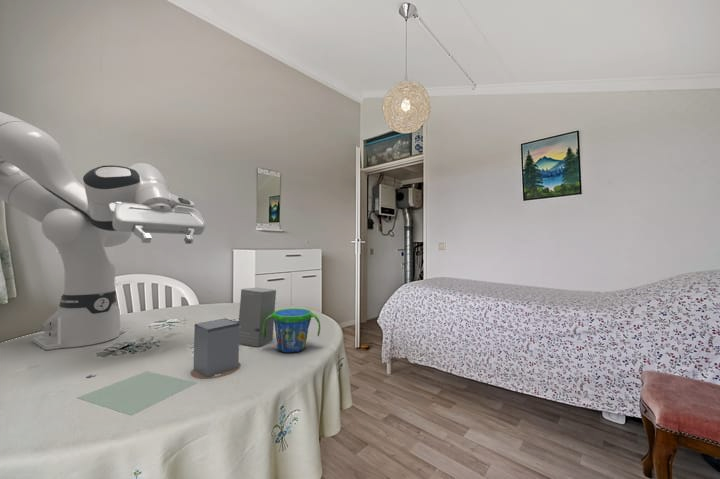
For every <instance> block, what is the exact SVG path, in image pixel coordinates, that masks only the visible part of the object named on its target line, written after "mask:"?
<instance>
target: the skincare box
mask: <svg viewBox="0 0 720 479" xmlns="http://www.w3.org/2000/svg"><path fill="white" fill-rule="evenodd" d="M240 291H241V292H240V302H239V312H238V314H239V315H238V323H239V345H244V346H245V345H246V346H250V347H251V346H252V347H257V348H260V347H262V346H264V345H267V344H269V343H271V342H270V341H272V340H273V339H274V328H275V323H274V319H273V318H269V319H268V320H267V322H266V338H264V337H263V324H264V322H265V320H266V318H267V317H268V316H270V315H271V314H273V313H274V312H275V309H276V298H277V297H276V295H277V290H276V289H270V288H263V287H248V288H242V289H241V290H240ZM268 342H269V343H268ZM272 342H273V341H272ZM266 343H267V344H266Z"/></svg>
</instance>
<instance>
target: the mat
mask: <svg viewBox="0 0 720 479" xmlns="http://www.w3.org/2000/svg"><path fill="white" fill-rule="evenodd" d="M196 384H197V382H196V381H191V380H187V379H182V378H179V377H173V376H170V375H165V374H161V373H156V372H153V371H144V372H141V373H139V374H136V375H133V376H130V377H128V378H125V379H122V380H120V381H116V382H115V383H112V384H109V385H107V386H104V387H101V388H99V389H96V390H94V391H91V392H88V393H86V394H83V395H80V396H77V397H76V399H79V400H82V401H86V402H87V403H91V404H93V405H97V406H100V407H103V408H107V409H110V410H114V411H115V412H116V411H117V412H119V413H122V414H126V415H129V416H134V415H136V414H137V413H140V412H141V411H143V410H145V409H147V408H149V407H151V406H154V405H155V404H158V403H160V402H162V401H164V400H166V399H167V398H169V397H173V396H174V395H177V394H178V393H180V392H181V391H184V390H186V389H188V388H190V387H192V386H194V385H196Z"/></svg>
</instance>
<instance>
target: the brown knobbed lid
mask: <svg viewBox="0 0 720 479" xmlns="http://www.w3.org/2000/svg"><path fill="white" fill-rule="evenodd" d="M240 368H241V363H240V362H239V363H238V368H236V369H233V370H230V371H227V372H224V373H221V374H218V375H215V376H212V377H209V378H206V377H204V376H203V375H201V374H200V373H198V372H197V371H195V370H194V368H193V369H191V371H190V376H191V377H192V378H195V379H198V380H199V379H201V380H212V379H217V378H222V377H225V376H229V375H231V374H234V373H235V372H237V371H238V370H240Z"/></svg>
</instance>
